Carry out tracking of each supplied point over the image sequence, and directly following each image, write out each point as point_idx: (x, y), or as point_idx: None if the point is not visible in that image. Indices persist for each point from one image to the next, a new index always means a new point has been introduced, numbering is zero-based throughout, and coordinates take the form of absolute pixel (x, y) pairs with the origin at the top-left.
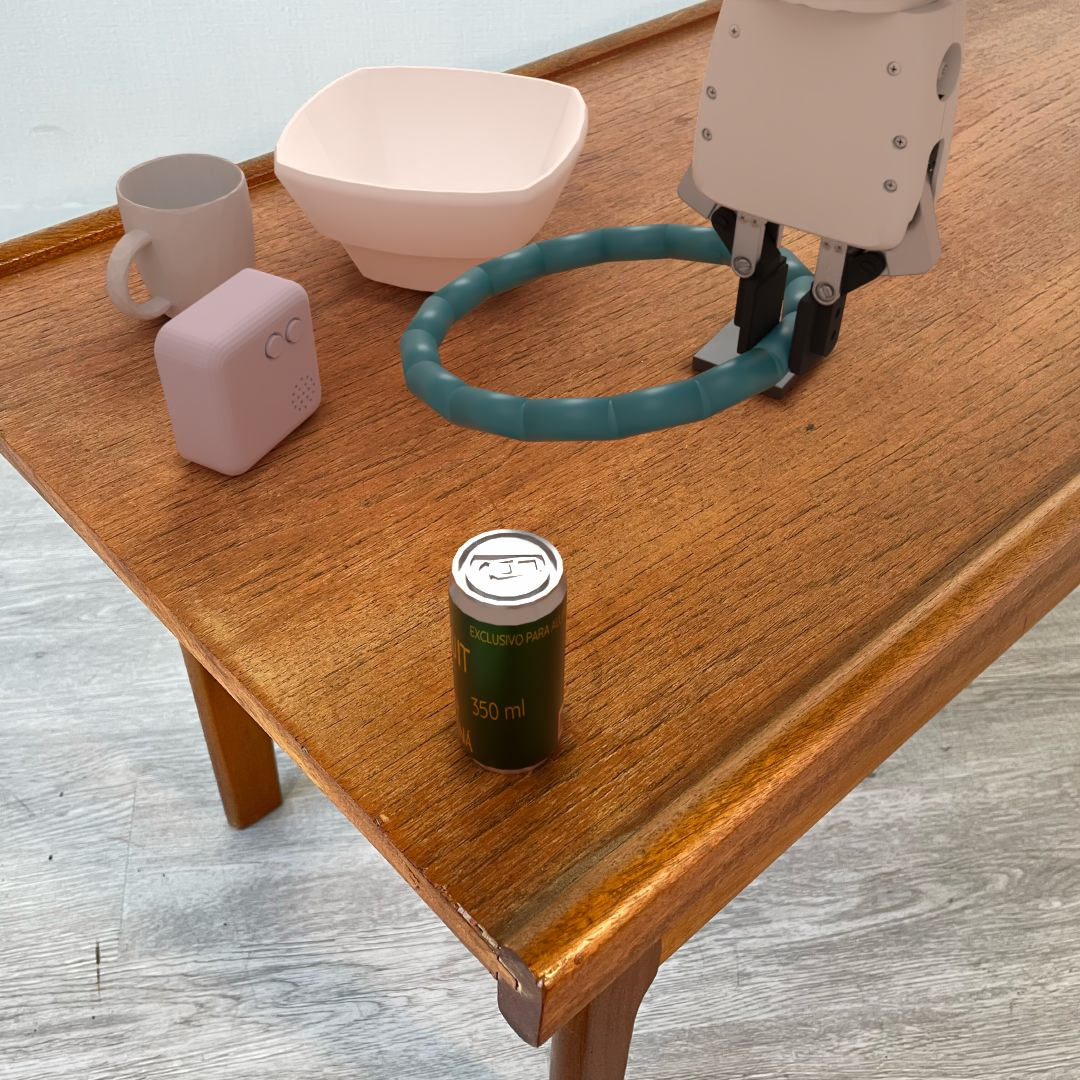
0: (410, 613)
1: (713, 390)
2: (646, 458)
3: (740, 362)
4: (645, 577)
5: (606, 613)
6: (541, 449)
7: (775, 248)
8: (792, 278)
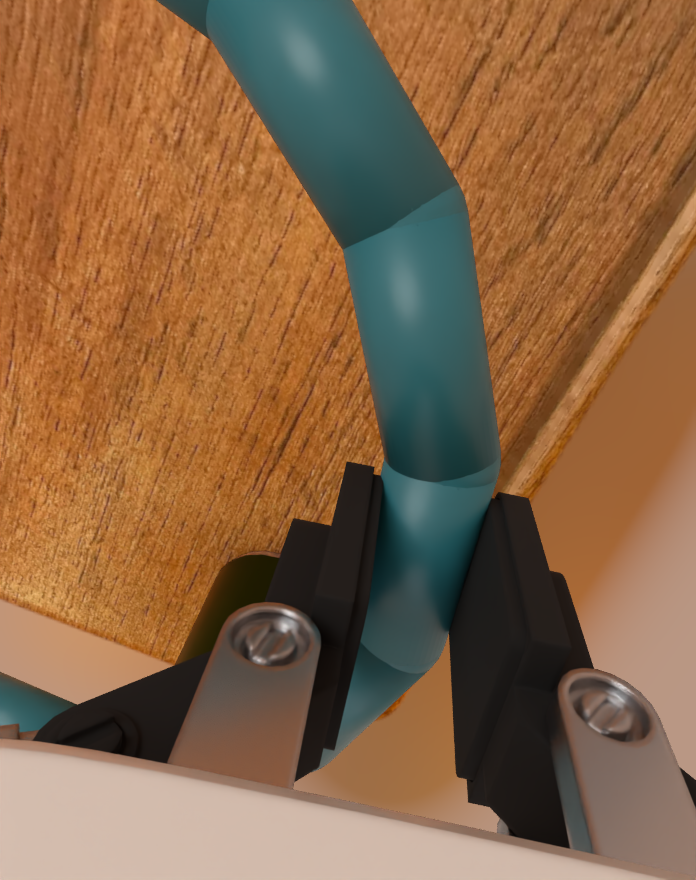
0: (91, 488)
1: (329, 758)
2: (181, 63)
3: (353, 710)
4: (295, 335)
5: (278, 411)
6: (28, 125)
7: (313, 702)
8: (351, 232)
